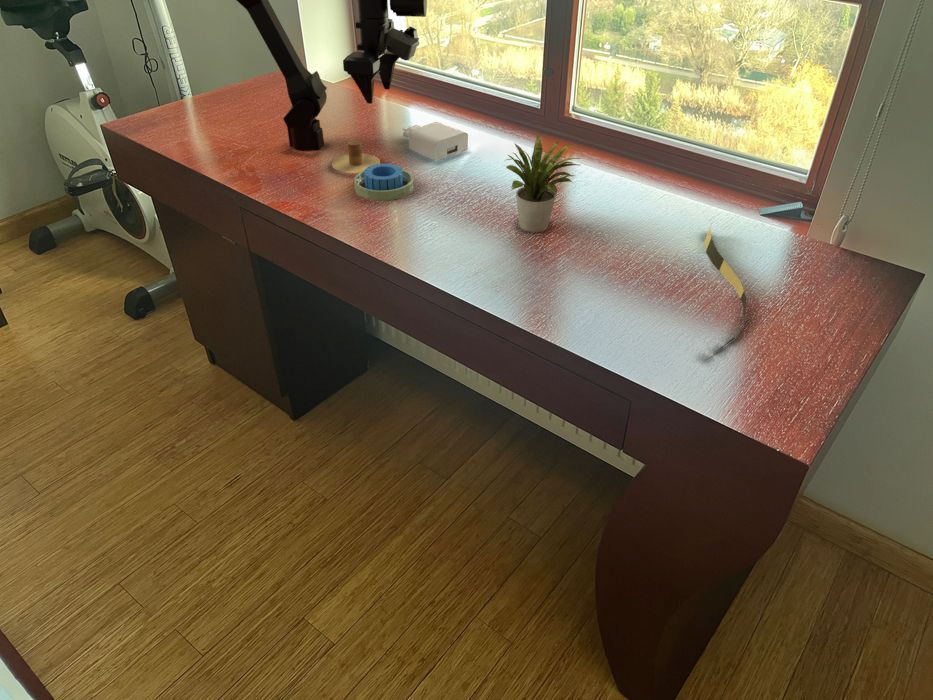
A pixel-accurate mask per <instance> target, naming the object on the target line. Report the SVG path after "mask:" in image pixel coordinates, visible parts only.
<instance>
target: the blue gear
mask: <svg viewBox="0 0 933 700" xmlns="http://www.w3.org/2000/svg"><path fill="white" fill-rule="evenodd" d="M402 169H403V168H401V166H399V165H397V164H393V163H380V164H376V165H372V166H369V167H368V168H366V169H365V171H364V180H365V182H364V188H367V189H371V190H379V191H386V190H394V189H398V188H401V187H403V186H404V181H403V170H402Z"/></svg>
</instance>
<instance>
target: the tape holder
mask: <svg viewBox="0 0 933 700" xmlns="http://www.w3.org/2000/svg"><path fill="white" fill-rule="evenodd" d="M347 152H348V154H343V155H341V156H338V157H336V158H334V159H333V160H332V162H331V167H332V168H333V169H334V170H335V171H338V172H341V173H347V174H358V173H360V172H362V171H364V170H365V169H366V168H368V167H369V166H372V165H376V164H381V160H380V158H378V157H377V156H375V155H373V154H368V153H363V147H362V141H361V140H358V139H351V140H348V141H347Z"/></svg>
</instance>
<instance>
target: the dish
mask: <svg viewBox="0 0 933 700" xmlns="http://www.w3.org/2000/svg"><path fill="white" fill-rule="evenodd" d="M402 170H403V182H405V183H406V184H405V185H403V187H401V188H398V189H394V190H386V191H379V190H371V189H367V188H365V186H364V187H363V186H362V185H363V183H365V180H364V171H365V170H364V171H362V172H360V173H356V175H354V178H353V187H354V191H355V193H356V195H358V196H359V197H361V198H364V199H366V200H369V201H377V202H378V201H380V202H383V201H384V202H385V201H394V200H399V199H402V198H404V197H407V196H408V195H410V194H412V192H413V191H414V187H415V183H414V181H415V180H414V179H415V178H414V175H413V174H412V173H411V172H410V171H408V170H406V169H404V168H402Z"/></svg>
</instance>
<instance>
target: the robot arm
mask: <svg viewBox="0 0 933 700" xmlns="http://www.w3.org/2000/svg"><path fill="white" fill-rule="evenodd" d="M235 1H236V2H238V3H239V5H240V6H242V7H243V8H244V9H245V10H246V12H248V14H249V16H250V18H251V20H252V22H253V24H254V25H255V28H256V29H257V31H258V32H259V34H260V36H261V38H262V40H263V41H264V43H265V45H266V48H268V50H269V52H270V54H271V56H272V58H273V60H274V61H275V64H276V65H277V67H278V69H279V70H280V72H281V74H282V76H283V78H284V80H285V84H286V90H287V95H288V98H289V101H290V104H291V107H290V109H288V111H287V112H286V114H285V115H284V116H283V122H284V124H285V125H286V128H287V137H288V142H289V143H288V144H289V147H290V148H292V149H294V150H296V151H299V152H309V151H320V150H321V149H322V148H323V147H325V141H324V131H323V127H321V122H320V121H321V120H320V119H317V117H318V116H319V115H320V113H321V111H322V110H323V108H324V106H325V105H326V103H327V99H328V97H327V89H328V87H327V86H326V85H325V84H324V83H323V81H322V79H321V76H320V73H319V72H318V71H317V70H316V71H314V72H313V73H311V72H310V71H309V70H308V69H307V68H306V67H305V66H304V64H303V63H302V60H301V59H300V57H299V55H298V54H297V53H298V52H297V51H296V49H295V47H294V46H293V44H292V42H291V40H290V38H289V36H288V35H287V32H286V31H285V28H284V27H283V24H282V22H280V19H279V18H278V15H277V14H276V11H275V10H274V8H273V7H272V5H271V2H270V1H269V0H235ZM357 8H358V10H357V11H358V20H357V21H356V22H355V29H359V35H360V36H359V37H360V38H359V39H360V42H359V43H358V44H357V45H356V49H357V51H352V52H350V54H348V55H347V56H346V57H345V58H344V59H343V60H342V65H343V71H344V72H345V73H347V75H350V77H351V78H352V79H353V82H354V83H355V84H356V86H357V88H358V89H359V92H360V94H361V95H362V97H363V98H364V100H365V102H366V103H367V104H370V105H371V104H373V102H374V90H375V78H376V76H378V75H379V77H380V81H381V84H382V86H383V89H384V90H390V89H391V86H392V81H393V75H394V71H395V68H396V63H397V61H398V60H399V59H400V60H403V61H409V60H410V59H411V58H413V57H414V56H415V54H416V51H417V47H418V46H420V41H419V40H420V38H419V37H418V30H417V28H415V27H413V26H411V25H410V26H409V27H407V28H406V29H405V30H403V29H400V30H399V29H396V28H395V22H394V21H393V18H389V8H390V11H392V13H393V14H395V15H396V16H397V17H412V18H413V17H416V18H417V17H418V18H419V17H420V18H421V17H422V18H426V17H427V13H428V12H427V9H428V0H389V1H388V0H357Z"/></svg>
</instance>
